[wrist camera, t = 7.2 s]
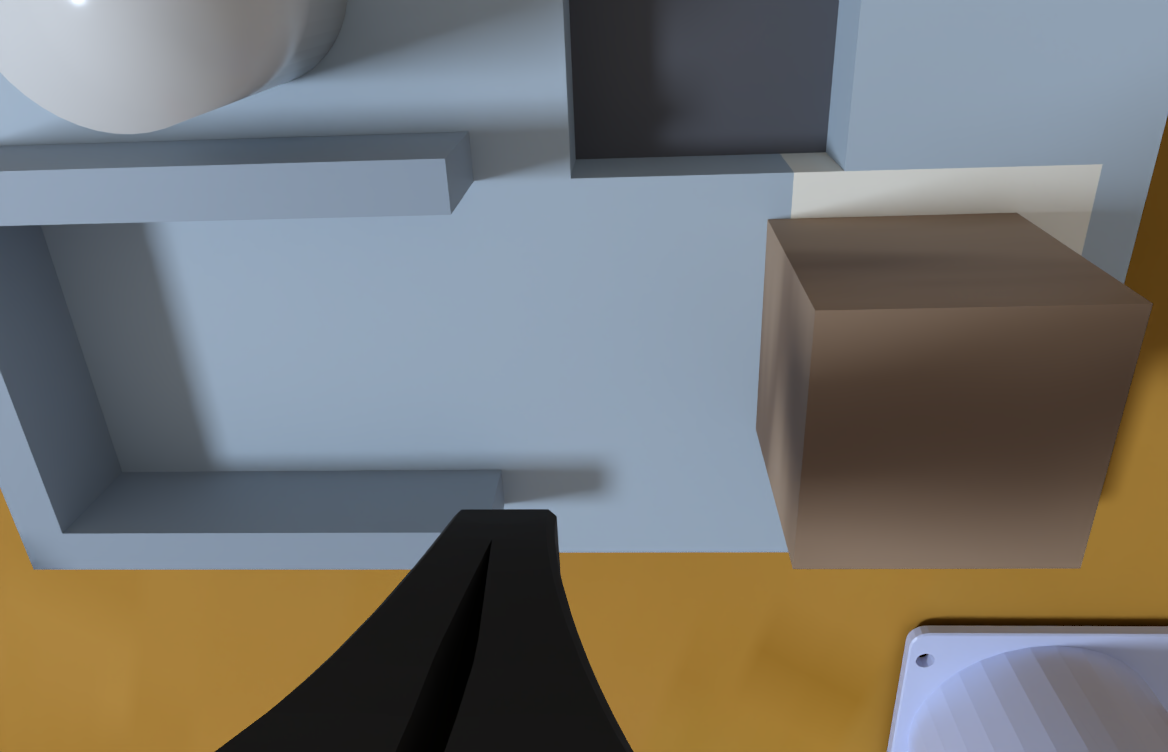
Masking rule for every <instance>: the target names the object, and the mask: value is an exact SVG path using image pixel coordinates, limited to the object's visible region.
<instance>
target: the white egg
mask: <svg viewBox="0 0 1168 752" xmlns="http://www.w3.org/2000/svg"><path fill="white" fill-rule="evenodd" d="M346 7H347V0H0V72H1V74H2V75H3V76H4V77H5V78H6V79H7V80H8V81H9V82H10V83H11V84H13V85H14V86H15V87H16V88H17V89H18V90H20V91H21V92H22V93H23V94H24V95H25V96H27V97H28V98H30V99H31V100H32V101H34V102H35V103H37V104H38V105H40V106H41V107H42V108H44V109H46V110H48V111H49V112H51V113H53V114H55V115H57V116H58V117H60V118H63V119H65V120H67V121H70V122H72V123H74V124H77V125H79V126H83V127H86V128H89V129H93V130H96V131H102V132H108V133H114V134H139V133H149V132H153V131H157V130H161V129H165V128H167V127H170V126H173V125H175V124H178V123H181V122H183V121H186V120H189V119H191V118H194V117H196V116H199V115H202V114H204V113H207V112H210V111H212V110H215V109H217V108H220V107H223V106H225V105H228V104H231V103H233V102H236V101H239V100H241V99H244V98H246V97H249V96H252V95H254V94H257V93H260V92H262V91H265V90H267V89H270V88H273V87H275V86H278V85H281V84H283V83H286V82H288V81H291V80H293V79H296V78H298V77H300V76H302V75H303V74H305V73H307V72H308V71H310V70H311V69H312V68H314V67H315V66H316V65H317V64H318V63H319V62H321V60H322V59H323V58H324V57H325V56H326V54H327V53H328V52H329V51H330V49H331V48H332V46H333V44H334V43H335V41H336V39H337V37H338V35H339V32H340V30H341V28H342V24H343V21H344V17H345V13H346Z"/></svg>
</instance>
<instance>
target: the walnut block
mask: <svg viewBox="0 0 1168 752" xmlns="http://www.w3.org/2000/svg"><path fill="white" fill-rule="evenodd" d="M1152 305H1153V303H1151V302H1150V301H1148V300H1147V299H1145V298H1144V297H1142V296H1141V295H1139V294H1138V293H1136V292H1135V291H1133V290H1132V289H1130V288H1129V287H1127V286H1126V285H1124V284H1123V283H1121V282H1120V281H1118V280H1117V279H1115V278H1114V277H1112V276H1111V275H1109V274H1108V273H1106V272H1105V271H1103V270H1102V269H1100V268H1099V267H1097V266H1096V265H1094V264H1093V263H1091V262H1090V261H1088V260H1087V259H1085V258H1084V257H1082V256H1081V255H1079V254H1078V253H1076V252H1075V251H1073V250H1072V249H1070V248H1069V247H1067V246H1066V245H1064V244H1063V243H1061V242H1060V241H1058V240H1057V239H1055V238H1054V237H1052V236H1051V235H1050V234H1048V233H1047V232H1045V231H1044V230H1042V229H1041V228H1039V227H1038V226H1036V225H1035V224H1033V223H1032V222H1030V221H1029V220H1027V219H1026V218H1024V217H1023V216H1021V215H1020V214H1018V213H984V214H947V215H910V216H872V217H835V218H797V219H768V220H767V238H766V256H765V273H764V291H763V309H762V327H761V345H760V363H759V380H758V398H757V416H756V432H757V436H758V440H759V444H760V447H761V451H762V455H763V458H764V462H765V466H766V470H767V473H768V477H769V481H770V485H771V488H772V492H773V496H774V500H775V503H776V507H777V511H778V515H779V518H780V522H781V526H782V530H783V533H784V537H785V541H786V545H787V548H788V552H789V556H790V560H791V563H792V567H793V569H996V568H1081V564H1082V560H1083V557H1084V553H1085V549H1086V546H1087V542H1088V538H1089V535H1090V531H1091V527H1092V524H1093V520H1094V517H1095V513H1096V509H1097V506H1098V502H1099V498H1100V495H1101V491H1102V487H1103V484H1104V480H1105V476H1106V473H1107V469H1108V466H1109V462H1110V458H1111V455H1112V451H1113V447H1114V444H1115V440H1116V436H1117V433H1118V429H1119V425H1120V422H1121V418H1122V415H1123V411H1124V407H1125V404H1126V400H1127V396H1128V393H1129V389H1130V385H1131V382H1132V378H1133V374H1134V371H1135V367H1136V364H1137V360H1138V356H1139V353H1140V349H1141V345H1142V342H1143V338H1144V334H1145V331H1146V327H1147V323H1148V320H1149V316H1150V313H1151V309H1152Z"/></svg>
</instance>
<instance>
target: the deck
mask: <svg viewBox="0 0 1168 752" xmlns="http://www.w3.org/2000/svg"><path fill="white" fill-rule="evenodd" d="M1167 116H1168V0H347V7H346V13H345V17H344V21H343V24H342V28H341V30H340V32H339V35H338V37H337V39H336V41H335V43H334V44H333V46H332V48H331V49H330V51H329V52H328V53H327V54H326V56H325V57H324V58H323V59H322V60H321V62H319V63H318V64H317V65H316V66H315V67H314V68H312V69H311V70H310V71H308V72H307V73H305V74H303V75H302V76H300V77H298V78H296V79H293V80H291V81H288V82H286V83H283V84H281V85H278V86H275V87H273V88H270V89H267V90H265V91H262V92H260V93H257V94H254V95H252V96H249V97H246V98H244V99H241V100H239V101H236V102H233V103H231V104H228V105H225V106H223V107H220V108H217V109H215V110H212V111H210V112H207V113H204V114H202V115H199V116H196V117H194V118H191V119H189V120H186V121H183V122H181V123H178V124H175V125H173V126H170V127H167V128H165V129H161V130H157V131H153V132H149V133H139V134H114V133H108V132H102V131H96V130H93V129H89V128H86V127H83V126H79V125H77V124H74V123H72V122H70V121H67V120H65V119H63V118H60V117H58V116H57V115H55V114H53V113H51V112H49V111H48V110H46V109H44V108H42V107H41V106H40V105H38V104H37V103H35V102H34V101H32V100H31V99H30V98H28V97H27V96H25V95H24V94H23V93H22V92H21V91H20V90H18V89H17V88H16V87H15V86H14V85H13V84H11V83H10V82H9V81H8V80H7V79H6V78H5V77H4V76H3V75H2V74H1V72H0V488H1V490H2V493H3V495H4V498H5V500H6V503H7V505H8V507H9V510H10V512H11V515H12V517H13V520H14V522H15V525H16V527H17V529H18V532H19V534H20V537H21V539H22V542H23V544H24V546H25V549H26V551H27V554H28V556H29V559H30V561H31V564H32V566H33V568H34V569H412V568H413V567H414V566H415V565H416V564H417V562H418V561H419V560H420V559H421V557H422V556H423V555H424V554H425V553H426V551H427V550H428V549H429V548H430V546H431V545H432V544H433V543H434V541H435V540H436V539H437V538H438V536H439V535H440V534H441V532H442V531H443V530H444V529H445V527H446V526H447V525H448V523H449V522H450V521H451V520H452V518H453V517H454V516H455V515H456V514H457V513H458V512H459V511H460V510H461V509H549V510H550V511H551V512H552V513H553V514H555V515H556V516H557V527H558V544H559V552H788V548H787V545H786V541H785V537H784V533H783V530H782V526H781V522H780V518H779V515H778V511H777V507H776V503H775V500H774V496H773V492H772V488H771V485H770V481H769V477H768V473H767V470H766V466H765V462H764V458H763V455H762V451H761V447H760V444H759V440H758V436H757V432H756V416H757V398H758V380H759V363H760V345H761V327H762V309H763V291H764V273H765V256H766V238H767V220H768V219H797V218H835V217H872V216H910V215H947V214H984V213H1018V214H1020V215H1021V216H1023V217H1024V218H1026V219H1027V220H1029V221H1030V222H1032V223H1033V224H1035V225H1036V226H1038V227H1039V228H1041V229H1042V230H1044V231H1045V232H1047V233H1048V234H1050V235H1051V236H1052V237H1054V238H1055V239H1057V240H1058V241H1060V242H1061V243H1063V244H1064V245H1066V246H1067V247H1069V248H1070V249H1072V250H1073V251H1075V252H1076V253H1078V254H1079V255H1081V256H1082V257H1084V258H1085V259H1087V260H1088V261H1090V262H1091V263H1093V264H1094V265H1096V266H1097V267H1099V268H1100V269H1102V270H1103V271H1105V272H1106V273H1108V274H1109V275H1111V276H1112V277H1114V278H1115V279H1117V280H1118V281H1120V282H1121V283H1123V284H1124V282H1125V278H1126V274H1127V270H1128V267H1129V263H1130V259H1131V255H1132V251H1133V247H1134V243H1135V240H1136V236H1137V232H1138V228H1139V224H1140V220H1141V216H1142V212H1143V209H1144V205H1145V201H1146V197H1147V193H1148V189H1149V185H1150V182H1151V178H1152V174H1153V170H1154V166H1155V162H1156V158H1157V154H1158V151H1159V147H1160V143H1161V139H1162V135H1163V131H1164V127H1165V124H1166V120H1167Z"/></svg>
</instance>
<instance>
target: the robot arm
mask: <svg viewBox="0 0 1168 752" xmlns="http://www.w3.org/2000/svg"><path fill="white" fill-rule="evenodd" d="M922 654H928V655H926V656H925V657H919V656H920V655H922ZM215 752H633V750H632V749H631V747H630V745H629V743H628V742H627V740H626V738H625V736H624V734H623V732H622V730H621V728H620V726H619V725H618V723H617V721H616V719H615V717H614V715H613V713H612V711H611V709H610V707H609V705H608V703H607V701H606V699H605V697H604V695H603V693H602V691H601V689H600V686H599V684H598V682H597V680H596V677H595V675H594V673H593V671H592V668H591V666H590V663H589V661H588V659H587V656H586V653H585V651H584V648H583V646H582V643H581V640H580V638H579V635H578V633H577V630H576V627H575V624H574V621H573V618H572V615H571V611H570V608H569V605H568V601H567V598H566V594H565V591H564V587H563V584H562V580H561V575H560V560H559V544H558V527H557V516H556V515H555V514H553V513H552V512H551V511H550V510H549V509H461V510H460V511H459V512H458V513H457V514H456V515H455V516H454V517H453V518H452V520H451V521H450V522H449V523H448V525H447V526H446V527H445V529H444V530H443V531H442V532H441V534H440V535H439V536H438V538H437V539H436V540H435V541H434V543H433V544H432V545H431V546H430V548H429V549H428V550H427V551H426V553H425V554H424V555H423V556H422V557H421V559H420V560H419V561H418V562H417V564H416V565H415V566H414V567H413V568H412V570H411V571H410V572H409V573H408V574H407V575H406V577H405V578H404V579H403V580H402V581H401V582H400V583H399V585H398V586H397V587H396V588H395V589H394V590H393V591H392V593H391V594H390V595H389V596H388V597H387V598H386V600H385V601H384V602H383V603H382V604H381V605H380V606H379V607H378V608H377V610H376V611H375V612H374V613H373V614H372V615H371V616H370V617H369V618H368V619H367V620H366V621H365V622H364V623H363V624H362V625H361V626H360V627H359V628H358V629H357V630H356V631H355V632H354V633H353V634H352V635H351V637H350V638H349V639H348V640H347V641H346V642H345V643H344V644H343V645H342V646H341V647H340V648H339V649H338V650H337V651H336V652H335V653H334V654H333V655H332V656H331V657H330V658H329V659H328V660H326V661H325V662H324V663H323V664H322V665H321V666H320V667H319V668H318V669H317V670H316V671H315V672H314V673H313V674H311V675H310V676H309V677H308V678H307V679H306V680H305V681H304V682H303V683H301V684H300V685H299V686H298V687H297V688H296V689H295V690H293V691H292V692H291V693H290V694H289V695H288V696H286V697H285V698H284V699H283V700H282V701H281V702H279V703H278V704H277V705H276V706H275V707H273V708H272V709H271V710H270V711H268V712H267V713H266V714H265V715H263V716H262V717H261V718H259V719H258V720H257V721H255V722H254V723H253V724H251V725H250V726H249V727H247V728H246V729H245V730H243V731H242V732H241V733H239V734H238V735H237V736H235V737H234V738H233V739H231V740H230V741H228V742H227V743H226V744H224V745H223V746H222V747H220V748H219V749H218V750H216V751H215ZM887 752H1168V626H919V627H917V628H915V629H913V630H912V631H911V632H910V633H909V634H908V636H907V638H906V643H905V649H904V655H903V661H902V667H901V672H900V678H899V684H898V690H897V696H896V701H895V707H894V713H893V719H892V725H891V731H890V736H889V742H888V748H887Z"/></svg>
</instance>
